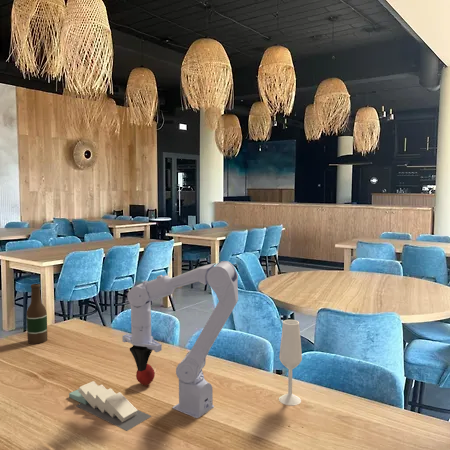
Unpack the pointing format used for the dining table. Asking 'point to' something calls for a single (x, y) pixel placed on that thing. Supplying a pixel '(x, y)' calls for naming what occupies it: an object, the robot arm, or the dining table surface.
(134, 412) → the domino
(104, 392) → the domino
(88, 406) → the runner mat
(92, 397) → the domino
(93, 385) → the domino
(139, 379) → the onion
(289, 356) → the champagne flute
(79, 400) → the domino
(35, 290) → the beer bottle
